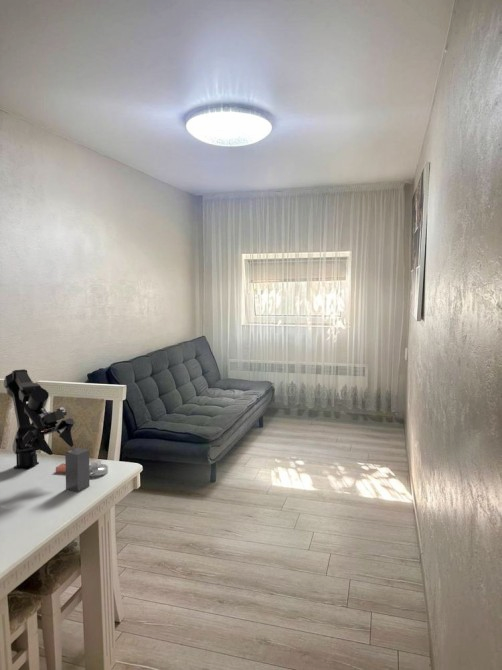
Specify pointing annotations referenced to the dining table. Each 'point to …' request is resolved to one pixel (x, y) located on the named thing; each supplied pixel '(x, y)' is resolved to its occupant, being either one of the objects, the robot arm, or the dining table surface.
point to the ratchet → (94, 469)
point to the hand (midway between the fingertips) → (62, 450)
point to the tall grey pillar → (77, 469)
